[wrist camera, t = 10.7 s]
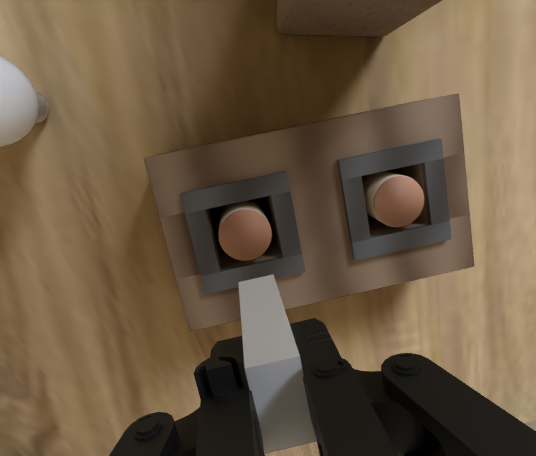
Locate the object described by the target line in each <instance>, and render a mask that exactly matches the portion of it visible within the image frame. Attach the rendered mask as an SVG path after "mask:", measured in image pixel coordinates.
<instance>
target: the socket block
mask: <svg viewBox="0 0 536 456" xmlns="http://www.w3.org/2000/svg"><path fill="white" fill-rule="evenodd" d="M144 161H145V165H146V169H147V172H148V176H149V180H150V184H151V187H152V191H153V195H154V199H155V203H156V206H157V210H158V214H159V218H160V221H161V225H162V229H163V233H164V236H165V240H166V244H167V248H168V251H169V255H170V259H171V263H172V266H173V270H174V274H175V278H176V281H177V285H178V289H179V293H180V296H181V300H182V304H183V308H184V311H185V315H186V319H187V323H188V326H189V330H190V331H194V330H199V329H203V328H207V327H212V326H216V325H220V324H225V323H229V322H233V321H238V320H241V312H240V298H239V284H238V282H241V281H246V280H250V279H255V278H259V277H264V276H268V275H273V274H274V278H275V281H276V284H277V287H278V290H279V293H280V296H281V299H282V302H283V305H284V309H285V310H286V309H290V308H295V307H299V306H303V305H308V304H312V303H317V302H321V301H325V300H330V299H334V298H338V297H343V296H347V295H352V294H356V293H360V292H365V291H369V290H373V289H378V288H382V287H387V286H391V285H395V284H400V283H404V282H408V281H413V280H417V279H422V278H426V277H430V276H435V275H439V274H443V273H448V272H452V271H457V270H461V269H465V268H470V267H474V257H473V246H472V235H471V224H470V212H469V201H468V190H467V179H466V167H465V156H464V145H463V134H462V122H461V111H460V100H459V94H453V95H448V96H442V97H437V98H431V99H426V100H420V101H415V102H409V103H405V104H400V105H395V106H390V107H385V108H380V109H375V110H371V111H366V112H361V113H356V114H351V115H346V116H342V117H337V118H332V119H327V120H322V121H317V122H312V123H308V124H303V125H298V126H293V127H288V128H283V129H278V130H274V131H269V132H264V133H259V134H254V135H249V136H244V137H240V138H235V139H230V140H225V141H220V142H215V143H210V144H206V145H201V146H196V147H191V148H186V149H181V150H177V151H172V152H167V153H162V154H158V155H154V156H151V157H147V158H144ZM382 171H386V172H390V173H395V174H399V175H404V176H408V177H410V178H412V179H414V180H415V181H416V182H417V183H418V184H419V185H420V187H421V188H422V190H423V194H424V205H423V209H422V211H421V213H420V215H419V216H418V217H417V218H416V219H415V220H414V221H413V222H412V223H410V224H408V225H406V226H402V227H391V226H388V225H386V224H384V223H382V222H380V221H378V220H377V219H375V218H373V217H371V216H369V215H368V214H367V211H366V204H365V197H364V190H363V183H362V177H361V176H364V175H368V174H373V173H378V172H382ZM261 197H265V202H266V207H267V212H268V217H269V222H270V227H271V232H272V237H271V242H270V245H269V247H268V248H267V250H266V251H265V252H264V253H263V254H262V255H261V256H259V257H257V258H255V259H252V260H248V261H243V260H237V259H234V258H232V257H231V256H229V255H228V254H227V253H226V252H225V251H224V250H223V248H222V247H221V245H220V242H219V232H218V228H217V223H216V219H215V215H214V211H213V208H214V207H219V206H224V205H228V204H233V203H238V202H242V201H247V200H252V199H256V198H261Z"/></svg>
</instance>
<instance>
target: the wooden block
mask: <svg viewBox="0 0 536 456" xmlns="http://www.w3.org/2000/svg"><path fill="white" fill-rule="evenodd" d="M440 1H442V0H277V29H278V32H280V33H282V34H303V35H336V36H368V37H383V36H386V35H388V34H389V33H391V32H392V31H394V30H396V29H397V28H399V27H400V26H402V25H404V24H405V23H407V22H408V21H410V20H411V19H413V18H415V17H416V16H418V15H419V14H421V13H423V12H424V11H426V10H427V9H429V8H431V7H432V6H434V5H435V4H437V3H439V2H440Z"/></svg>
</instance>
